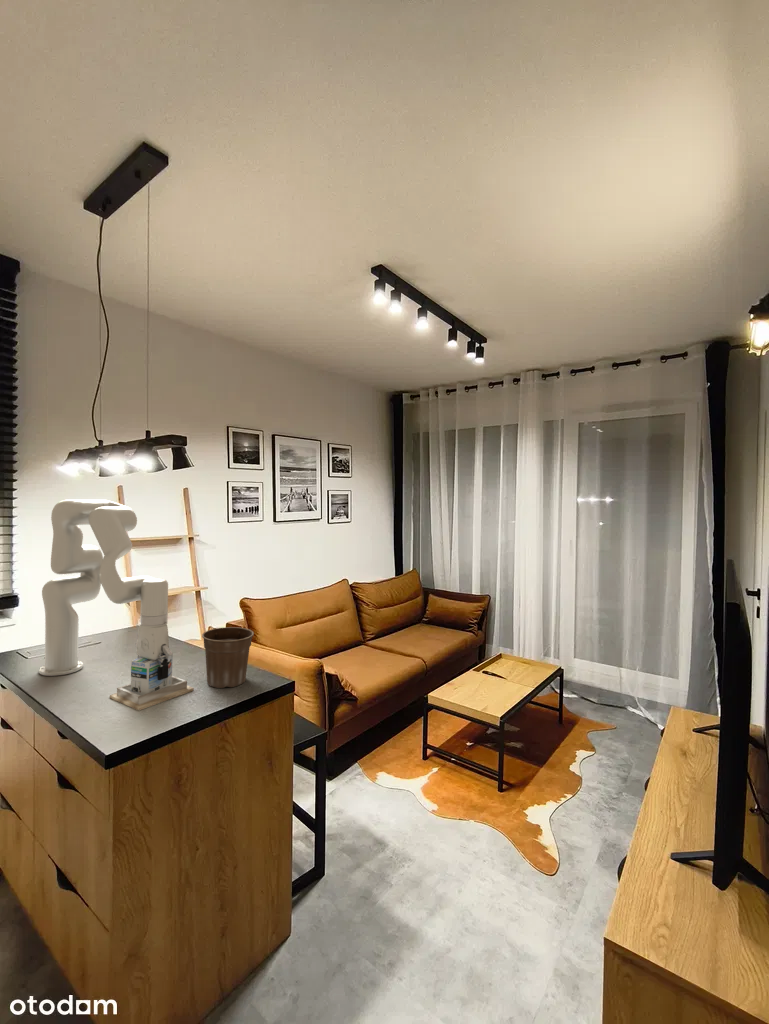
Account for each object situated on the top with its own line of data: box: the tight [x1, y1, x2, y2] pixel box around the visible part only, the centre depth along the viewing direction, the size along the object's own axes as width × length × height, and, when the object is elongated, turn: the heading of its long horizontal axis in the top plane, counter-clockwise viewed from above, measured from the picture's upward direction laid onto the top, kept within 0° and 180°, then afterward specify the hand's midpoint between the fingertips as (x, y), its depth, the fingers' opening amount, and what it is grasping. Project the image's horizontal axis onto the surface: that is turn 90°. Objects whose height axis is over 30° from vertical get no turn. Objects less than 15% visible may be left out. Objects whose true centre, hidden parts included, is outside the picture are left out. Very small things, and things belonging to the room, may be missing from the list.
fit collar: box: [109, 675, 195, 711], centre depth 149 cm, size 15×18×3 cm
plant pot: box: [201, 626, 254, 689], centre depth 161 cm, size 16×16×16 cm
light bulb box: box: [130, 656, 173, 696], centre depth 149 cm, size 11×7×11 cm, turn 165°
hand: (153, 675), depth 149 cm, fingers open, 9 cm apart
